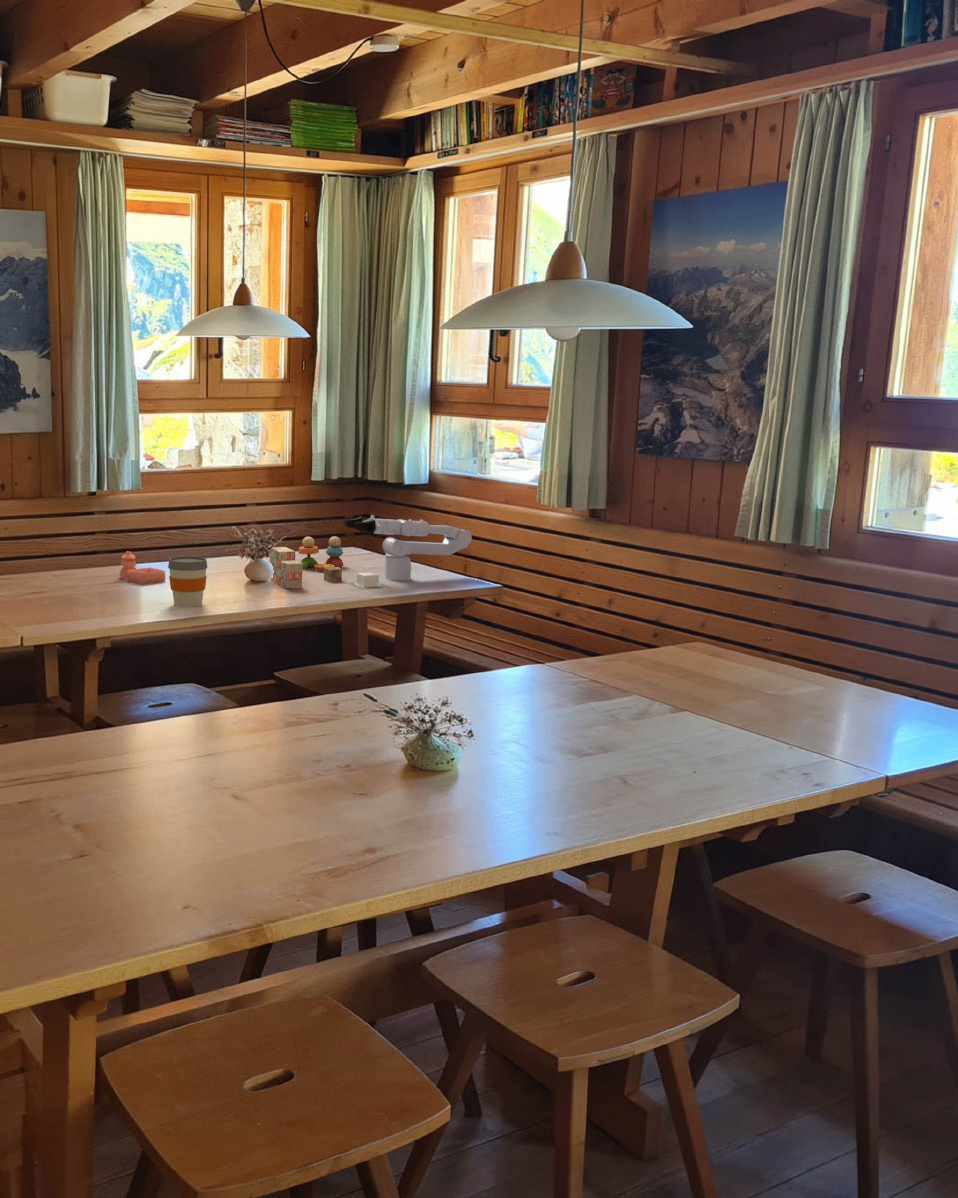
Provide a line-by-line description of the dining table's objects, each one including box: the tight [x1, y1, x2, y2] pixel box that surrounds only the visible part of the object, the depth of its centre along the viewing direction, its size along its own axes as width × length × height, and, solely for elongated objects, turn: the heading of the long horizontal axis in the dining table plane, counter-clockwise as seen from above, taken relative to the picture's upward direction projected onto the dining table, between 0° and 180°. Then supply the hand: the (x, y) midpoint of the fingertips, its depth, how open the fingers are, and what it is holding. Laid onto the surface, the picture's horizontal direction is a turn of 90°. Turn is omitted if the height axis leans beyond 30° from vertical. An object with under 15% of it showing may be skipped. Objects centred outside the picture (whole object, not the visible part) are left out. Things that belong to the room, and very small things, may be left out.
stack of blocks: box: [269, 546, 304, 589], centre depth 434 cm, size 21×6×12 cm, turn 25°
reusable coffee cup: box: [167, 555, 208, 608], centre depth 390 cm, size 13×13×15 cm
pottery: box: [119, 550, 166, 585], centre depth 430 cm, size 18×10×10 cm, turn 53°
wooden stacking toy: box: [298, 535, 344, 572], centre depth 470 cm, size 18×17×12 cm
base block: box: [356, 572, 380, 587], centre depth 436 cm, size 6×6×4 cm
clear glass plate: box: [345, 581, 390, 590], centre depth 436 cm, size 12×14×1 cm
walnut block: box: [323, 567, 343, 583], centre depth 443 cm, size 5×5×5 cm
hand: (350, 524), depth 438 cm, fingers open, 7 cm apart
